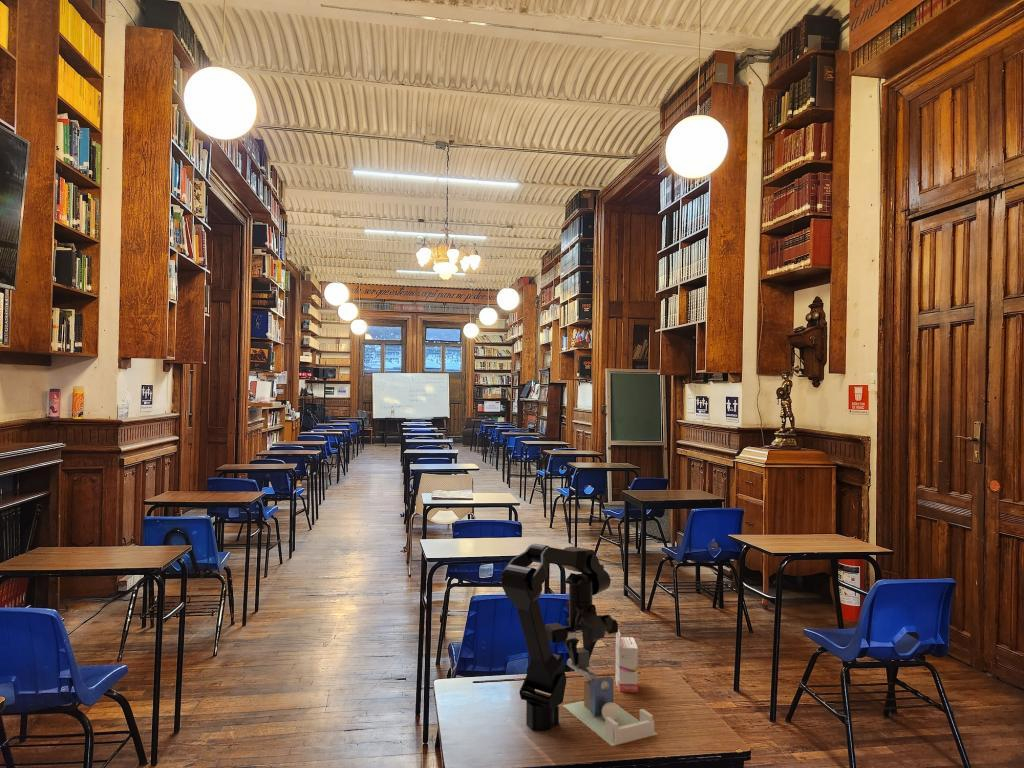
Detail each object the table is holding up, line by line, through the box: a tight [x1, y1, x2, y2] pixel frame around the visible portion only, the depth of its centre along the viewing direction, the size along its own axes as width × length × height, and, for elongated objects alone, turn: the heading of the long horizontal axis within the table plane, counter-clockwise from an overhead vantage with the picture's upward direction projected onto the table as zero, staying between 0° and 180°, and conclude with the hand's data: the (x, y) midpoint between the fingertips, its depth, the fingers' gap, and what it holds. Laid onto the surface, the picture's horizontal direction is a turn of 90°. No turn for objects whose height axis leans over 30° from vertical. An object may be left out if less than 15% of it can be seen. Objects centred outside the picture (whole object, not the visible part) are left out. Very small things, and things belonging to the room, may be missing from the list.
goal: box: [605, 708, 655, 746], centre depth 144 cm, size 10×4×4 cm, turn 115°
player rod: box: [566, 646, 614, 716], centre depth 160 cm, size 5×16×11 cm, turn 25°
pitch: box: [562, 680, 659, 747], centre depth 152 cm, size 12×21×7 cm, turn 25°
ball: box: [602, 702, 619, 721], centre depth 151 cm, size 4×4×4 cm
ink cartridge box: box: [614, 628, 639, 693], centre depth 171 cm, size 9×5×15 cm, turn 178°
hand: (580, 663), depth 163 cm, fingers closed on player rod, 3 cm apart
